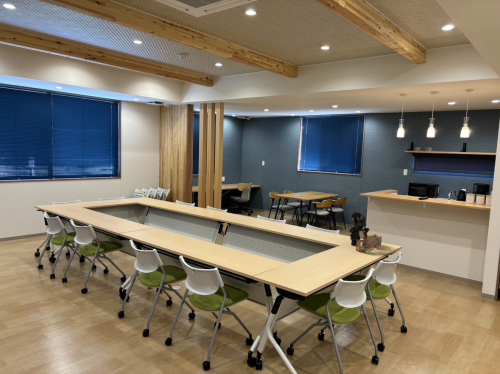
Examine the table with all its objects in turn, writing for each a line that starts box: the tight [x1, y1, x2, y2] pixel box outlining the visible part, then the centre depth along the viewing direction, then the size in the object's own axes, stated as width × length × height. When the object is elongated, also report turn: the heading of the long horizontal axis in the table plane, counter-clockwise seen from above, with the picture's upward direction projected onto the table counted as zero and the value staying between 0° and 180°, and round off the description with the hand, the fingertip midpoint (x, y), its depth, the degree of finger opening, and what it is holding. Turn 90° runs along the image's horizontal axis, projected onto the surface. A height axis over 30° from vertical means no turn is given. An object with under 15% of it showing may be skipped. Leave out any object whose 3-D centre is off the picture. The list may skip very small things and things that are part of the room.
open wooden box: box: [355, 239, 367, 253], centre depth 322 cm, size 6×6×11 cm
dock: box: [363, 246, 374, 252], centre depth 331 cm, size 9×12×2 cm
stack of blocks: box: [362, 232, 383, 248], centre depth 348 cm, size 21×6×12 cm, turn 125°
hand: (362, 237), depth 323 cm, fingers open, 9 cm apart
